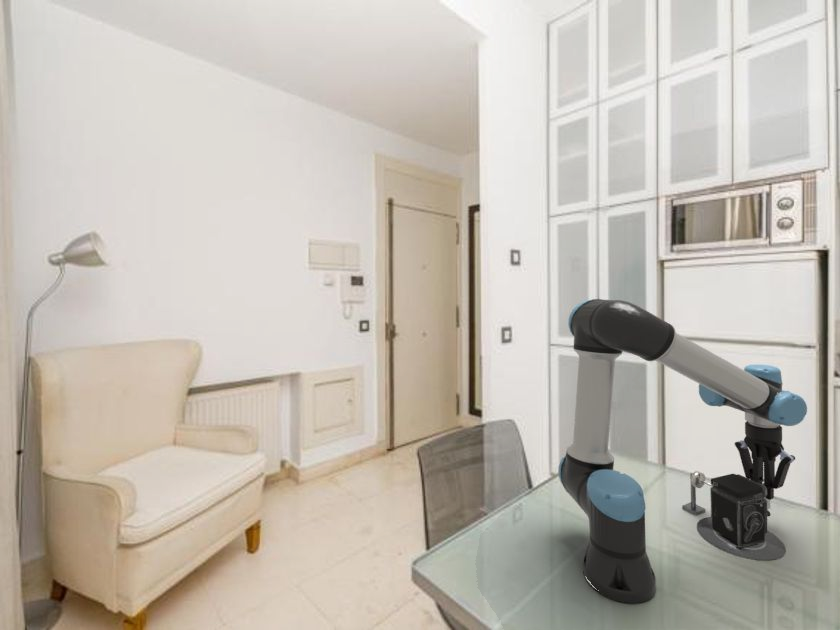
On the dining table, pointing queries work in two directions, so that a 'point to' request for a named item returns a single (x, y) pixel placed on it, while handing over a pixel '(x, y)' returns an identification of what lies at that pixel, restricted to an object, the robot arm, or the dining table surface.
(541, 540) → the dining table surface
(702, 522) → the disc
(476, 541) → the dining table surface
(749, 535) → the camera
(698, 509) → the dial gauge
